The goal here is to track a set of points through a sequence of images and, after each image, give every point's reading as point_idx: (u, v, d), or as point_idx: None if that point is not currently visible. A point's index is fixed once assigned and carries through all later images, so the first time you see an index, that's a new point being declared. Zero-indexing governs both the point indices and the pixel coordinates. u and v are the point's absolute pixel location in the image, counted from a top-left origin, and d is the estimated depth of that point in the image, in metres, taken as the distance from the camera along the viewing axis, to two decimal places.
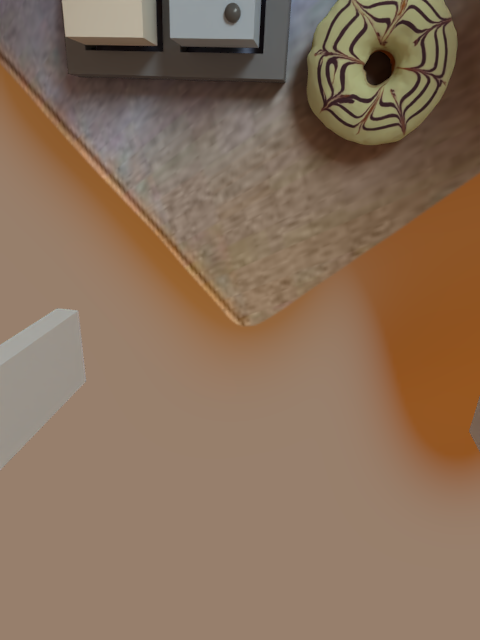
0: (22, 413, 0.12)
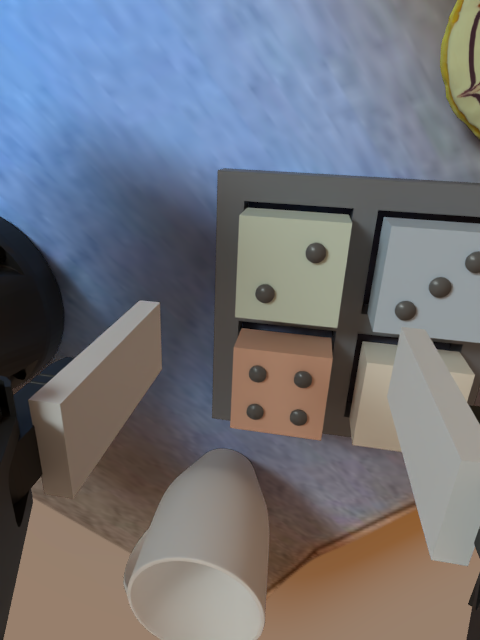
0: (123, 396, 0.13)
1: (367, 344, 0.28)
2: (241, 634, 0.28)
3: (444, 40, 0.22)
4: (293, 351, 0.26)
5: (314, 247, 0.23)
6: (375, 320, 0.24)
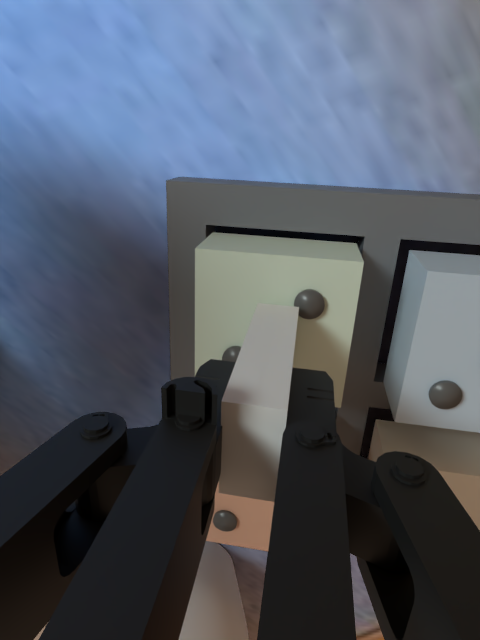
0: None
1: (383, 425, 0.20)
2: None
3: None
4: None
5: (306, 296, 0.15)
6: (399, 406, 0.16)
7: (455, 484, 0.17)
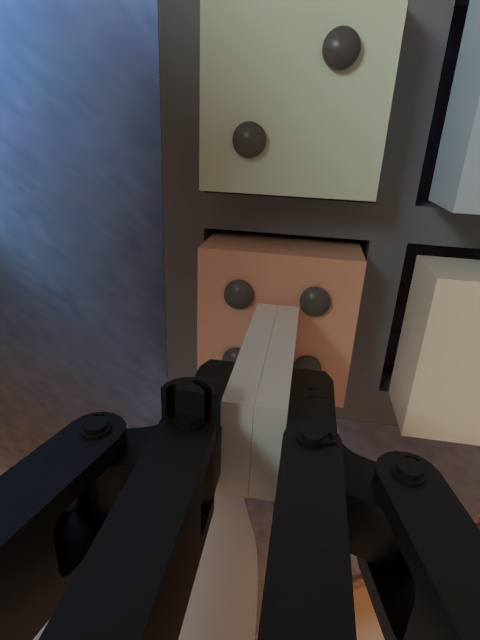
0: None
1: (427, 258, 0.16)
2: None
3: None
4: (298, 253, 0.16)
5: (338, 35, 0.13)
6: (459, 188, 0.12)
7: None
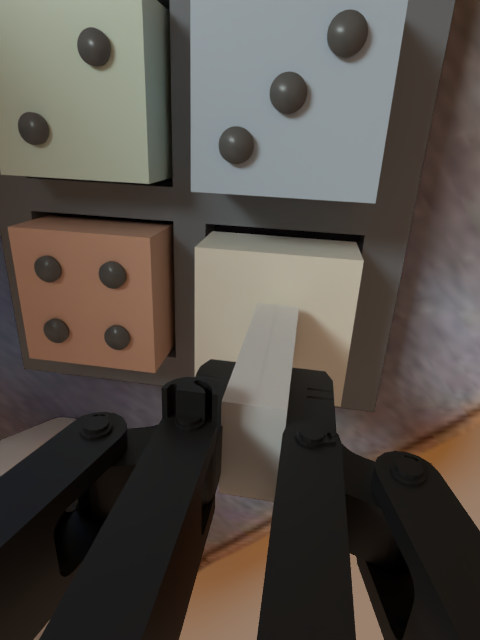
0: None
1: (216, 233, 0.18)
2: None
3: None
4: (96, 231, 0.17)
5: (88, 35, 0.14)
6: (192, 169, 0.14)
7: (270, 268, 0.16)
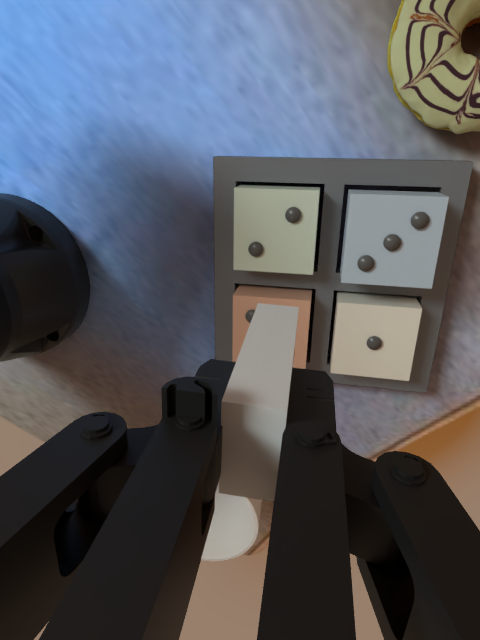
0: None
1: (340, 292, 0.35)
2: (240, 543, 0.34)
3: (389, 44, 0.28)
4: (280, 297, 0.33)
5: (291, 210, 0.30)
6: (342, 272, 0.30)
7: (375, 312, 0.32)
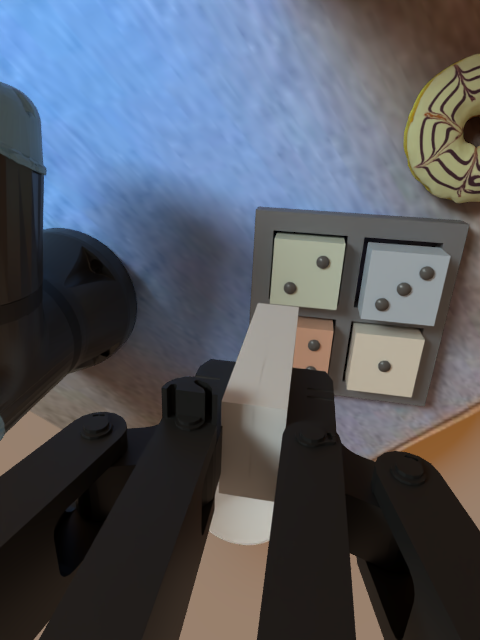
0: None
1: (356, 322, 0.42)
2: (270, 530, 0.40)
3: (405, 130, 0.35)
4: (307, 326, 0.40)
5: (321, 258, 0.37)
6: (362, 311, 0.37)
7: (386, 341, 0.39)
